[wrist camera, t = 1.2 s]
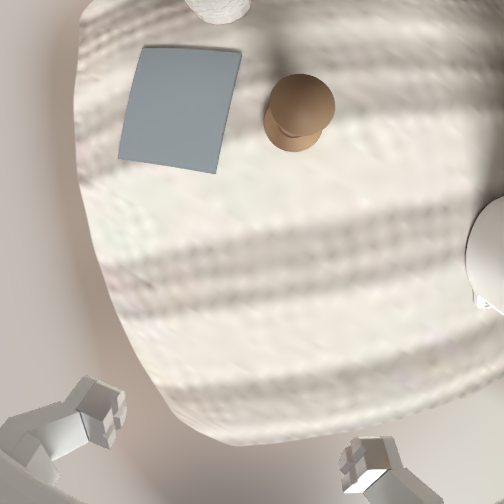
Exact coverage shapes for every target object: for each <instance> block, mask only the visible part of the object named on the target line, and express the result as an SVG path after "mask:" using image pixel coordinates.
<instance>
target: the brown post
mask: <svg viewBox="0 0 504 504" xmlns="http://www.w3.org/2000/svg"><path fill="white" fill-rule="evenodd" d="M334 112H335V101H334V97H333V95H332V92H331V91H330V89H329V88H328V87H327V85H326V84H325V83H324V82H322V81H321V80H319V79H318V78H316V77H313V76H310V75H306V74H294V75H290V76H287V77H285V78H283V79H282V80H280V81H279V82H278V83H277V84H276V85H275V87H274V88H273V90H272V92H271V95H270V106H269V108H268V109H267V111H266V113H265V117H264V128H265V132H266V134H267V136H268V138H269V140H270V141H271V142H272V143H273V144H274V145H275V146H277V147H278V148H280V149H282V150H285V151H289V152H298V151H302V150H305V149H308V148H309V147H311V146H312V145H314V144H315V143H316V142H317V140H318V139H319V137H320V135H321V133H322V129H324V128H325V127H326V126H327V125H328V124H329V123H330V121H331V120H332V118H333V115H334Z"/></svg>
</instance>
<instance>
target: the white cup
mask: <svg viewBox="0 0 504 504" xmlns="http://www.w3.org/2000/svg"><path fill="white" fill-rule="evenodd" d="M184 1H185V2H186V3H187V4H188V6H189V7H190V8H191V9H192V10H193V11H194V12H195V13H196V15H197V16H198V17H199V18H201V19H202V20H203V21H205V22H206V23H212V24H217V25H219V24H226V23H232V22H234V21H235V20H237V19H239V18H242V17H243V16H244V15H245V14H246V12H247V11H248V10H249V9H250V5H251V0H184Z"/></svg>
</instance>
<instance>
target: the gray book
mask: <svg viewBox="0 0 504 504" xmlns="http://www.w3.org/2000/svg"><path fill="white" fill-rule="evenodd" d="M241 58H242V54H241V53H235V52H226V51H216V50H204V49H186V48H142V51H141V54H140V58H139V61H138V65H137V68H136V72H135V76H134V80H133V84H132V88H131V92H130V96H129V100H128V105H127V110H126V114H125V119H124V124H123V130H122V135H121V141H120V147H119V153H118V159H122V160H130V161H137V162H144V163H151V164H158V165H164V166H171V167H177V168H183V169H189V170H194V171H200V172H205V173H211V174H216V169H217V164H218V159H219V154H220V150H221V145H222V140H223V135H224V130H225V126H226V121H227V117H228V112H229V108H230V103H231V99H232V95H233V90H234V86H235V82H236V78H237V74H238V70H239V66H240V62H241Z"/></svg>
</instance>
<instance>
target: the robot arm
mask: <svg viewBox="0 0 504 504" xmlns="http://www.w3.org/2000/svg"><path fill="white" fill-rule="evenodd" d="M466 270H467V275H468V279H469V281H470V283H471V285H472V288H473V291H474V305H475V307H477V308H478V309H490V308H494V309H496V310H497V311H498V312H500V313H501V314H502V315H504V196H502V197H501V198H498V199H496V200H494V201H492V202H491V203H490V204H488V205H487V206H486V207H485V208H484V209H483V211H482V212H481V213H480V215H479V216H478V218H477V220H476V221H475V224H474V226H473V228H472V231H471V233H470V236H469V240H468V245H467V250H466ZM125 397H126V396H125V391H123V390H120V389H118V388H116V387H113V386H111V385H108V384H106V383H104V382H102V381H99V380H97V379H95V378H93V377H90V376H88V375H86V376H84V377H82V379H81V380H80V381H79V383H78V384H77V385H76V387H75V388H74V389H73V390H72V392H71V393H70V394H69V396H68V397H67V398H66V400H65V401H64V402H63V403H62V402H57V403H54V404H51V405H48V406H45V407H42V408H39V409H36V410H32V411H29V412H26V413H23V414H20V415H16V416H13V417H9V418H8V419H7V420H6V422H5V423H4V424H3V425H2V426H1V428H0V504H86V503H84V502H82V501H80V500H78V499H76V498H74V497H73V496H71V495H69V494H67V493H65V492H63V491H62V490H60V489H58V488H56V487H55V484H56V482H57V480H58V478H59V476H60V474H59V472H58V470H57V469H56V467H55V466H54V464H53V462H52V461H53V460H56V459H58V458H60V457H62V456H64V455H66V454H68V453H69V452H71V451H73V450H75V449H77V448H79V447H81V446H82V445H84V444H86V443H88V442H89V441H90V442H93V443H95V444H97V445H100V446H102V447H105V448H107V449H111V446H112V445H113V443H114V441H115V439H116V437H117V435H116V430H117V429H120V428H121V427H122V425H123V423H124V421H125V417H126V413H127V406H126V404H125V403H124V402H123V401H124V400H125ZM350 443H351V446H349V447H347V448H345V449H344V450H343V452H342V453H341V456H340V459H339V467H340V471H341V472H342V473H343V474H344V476H343V477H342V479H341V481H342V488H343V493H360V492H364V493H363V494H364V496H365V497H366V498H367V499H368V501H369V502H370V503H371V504H444V502H443V499H442V498H441V497H440V496H439V495H438V494H436V493H435V492H434V491H433V490H432V489H430V488H429V487H428V486H427V485H426V484H424V483H423V482H422V481H421V480H420V479H419V478H417V477H416V476H415V475H414V474H413V473H412V472H411V471H409V470H408V469H407V468H403V465H402V462H401V459H400V456H399V453H398V450H397V447H396V444H395V441H394V438H393V437H392V436H380V437H379V436H357V437H354V438H353V439H352V440H351V442H350ZM494 504H504V499H502V500H500V501H498V502H496V503H494Z"/></svg>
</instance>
